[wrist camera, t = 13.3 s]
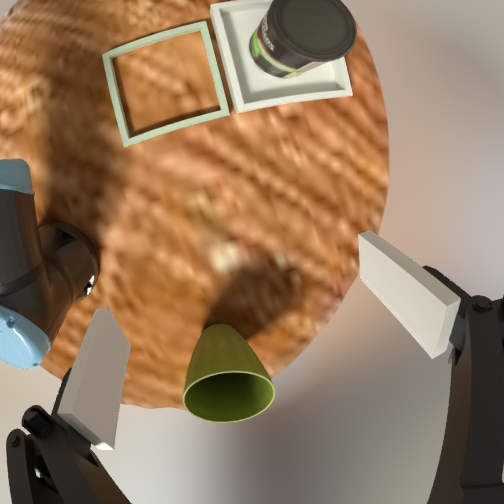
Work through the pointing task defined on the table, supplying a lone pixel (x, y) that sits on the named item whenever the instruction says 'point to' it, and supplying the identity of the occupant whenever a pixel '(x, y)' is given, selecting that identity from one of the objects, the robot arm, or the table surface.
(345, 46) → the coffee can
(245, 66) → the bin
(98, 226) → the table surface
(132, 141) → the frame
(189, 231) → the table surface
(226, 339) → the flower pot
